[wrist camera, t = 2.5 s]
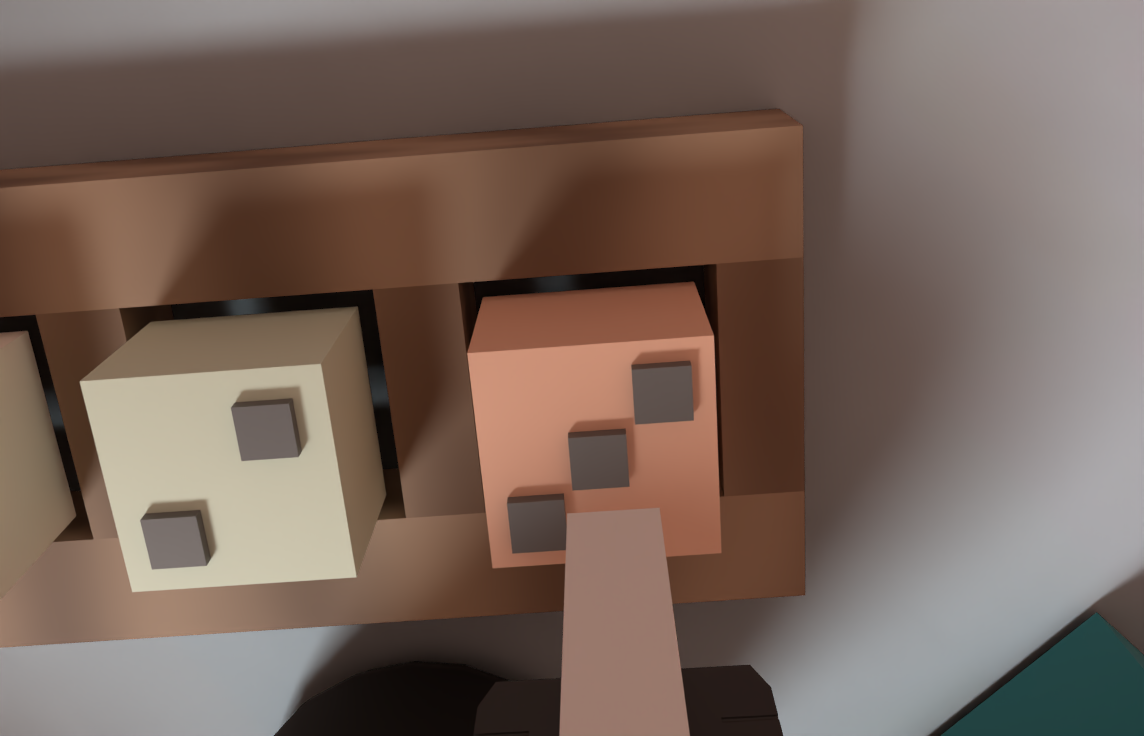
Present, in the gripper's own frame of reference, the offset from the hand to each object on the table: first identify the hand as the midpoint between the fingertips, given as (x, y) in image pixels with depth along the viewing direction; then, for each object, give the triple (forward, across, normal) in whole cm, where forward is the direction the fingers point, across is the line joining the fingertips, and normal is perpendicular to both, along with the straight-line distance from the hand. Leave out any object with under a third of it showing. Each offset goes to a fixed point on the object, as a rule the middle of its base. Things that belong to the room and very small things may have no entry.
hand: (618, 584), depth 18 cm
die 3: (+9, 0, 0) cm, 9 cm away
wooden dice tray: (+12, -8, 0) cm, 14 cm away
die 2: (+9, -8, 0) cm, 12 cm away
